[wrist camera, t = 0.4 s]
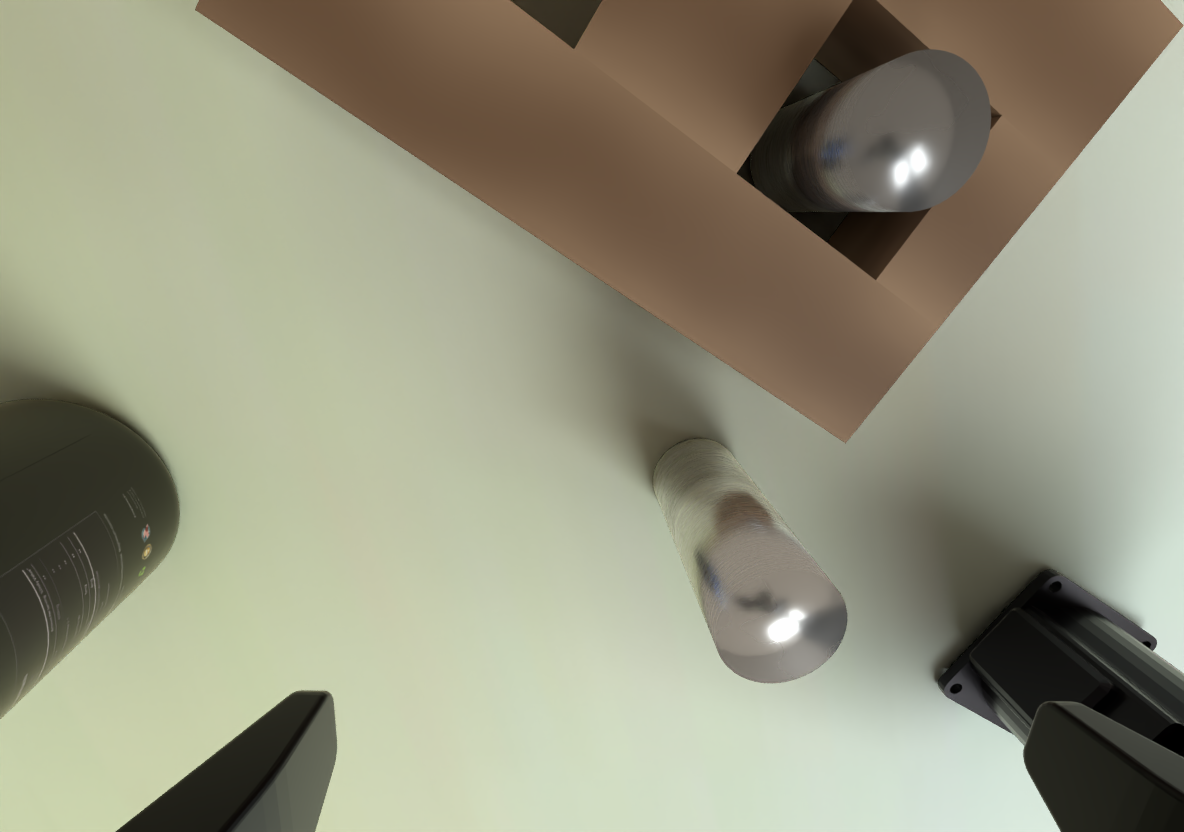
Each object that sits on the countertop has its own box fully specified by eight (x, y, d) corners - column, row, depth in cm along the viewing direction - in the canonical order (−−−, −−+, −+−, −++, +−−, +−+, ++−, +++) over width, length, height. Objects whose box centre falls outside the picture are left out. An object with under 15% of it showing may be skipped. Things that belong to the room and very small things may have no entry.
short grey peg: (869, 143, 18) (1020, 111, 12) (806, 231, 19) (921, 240, 13) (793, 79, 17) (916, 14, 12) (730, 174, 18) (816, 156, 12)
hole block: (510, -455, 13) (497, -720, 10) (1045, 65, 18) (1183, 25, 14) (276, 57, 16) (194, 9, 12) (789, 400, 20) (845, 443, 17)
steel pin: (755, 465, 21) (874, 607, 13) (704, 531, 22) (790, 701, 14) (686, 422, 20) (771, 547, 13) (636, 492, 21) (688, 649, 13)
